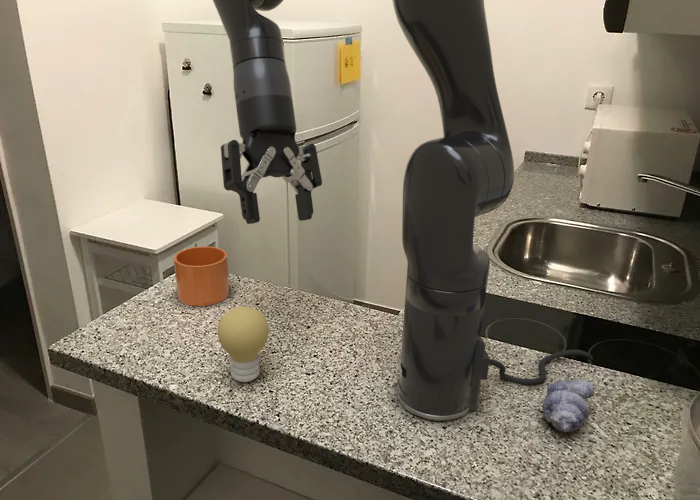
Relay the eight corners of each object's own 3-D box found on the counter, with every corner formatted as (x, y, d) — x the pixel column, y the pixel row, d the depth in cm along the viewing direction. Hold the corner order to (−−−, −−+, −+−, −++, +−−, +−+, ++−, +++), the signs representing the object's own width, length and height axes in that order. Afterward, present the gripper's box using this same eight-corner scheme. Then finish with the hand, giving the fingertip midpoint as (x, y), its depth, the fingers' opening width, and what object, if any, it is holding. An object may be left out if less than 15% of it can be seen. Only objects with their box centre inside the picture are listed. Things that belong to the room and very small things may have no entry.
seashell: (561, 401, 76) (556, 454, 67) (540, 369, 75) (532, 417, 67) (601, 389, 73) (601, 441, 64) (579, 355, 72) (576, 403, 64)
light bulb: (210, 381, 76) (205, 314, 72) (241, 358, 81) (237, 293, 77) (250, 397, 73) (247, 327, 69) (279, 371, 78) (278, 305, 74)
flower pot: (231, 282, 102) (229, 245, 99) (226, 305, 94) (224, 266, 92) (182, 283, 101) (178, 246, 99) (173, 306, 94) (169, 267, 91)
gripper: (232, 86, 70) (250, 220, 70) (322, 97, 80) (339, 214, 79) (202, 104, 75) (218, 228, 75) (290, 112, 85) (305, 222, 85)
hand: (280, 221), depth 77 cm, fingers open, 8 cm apart
